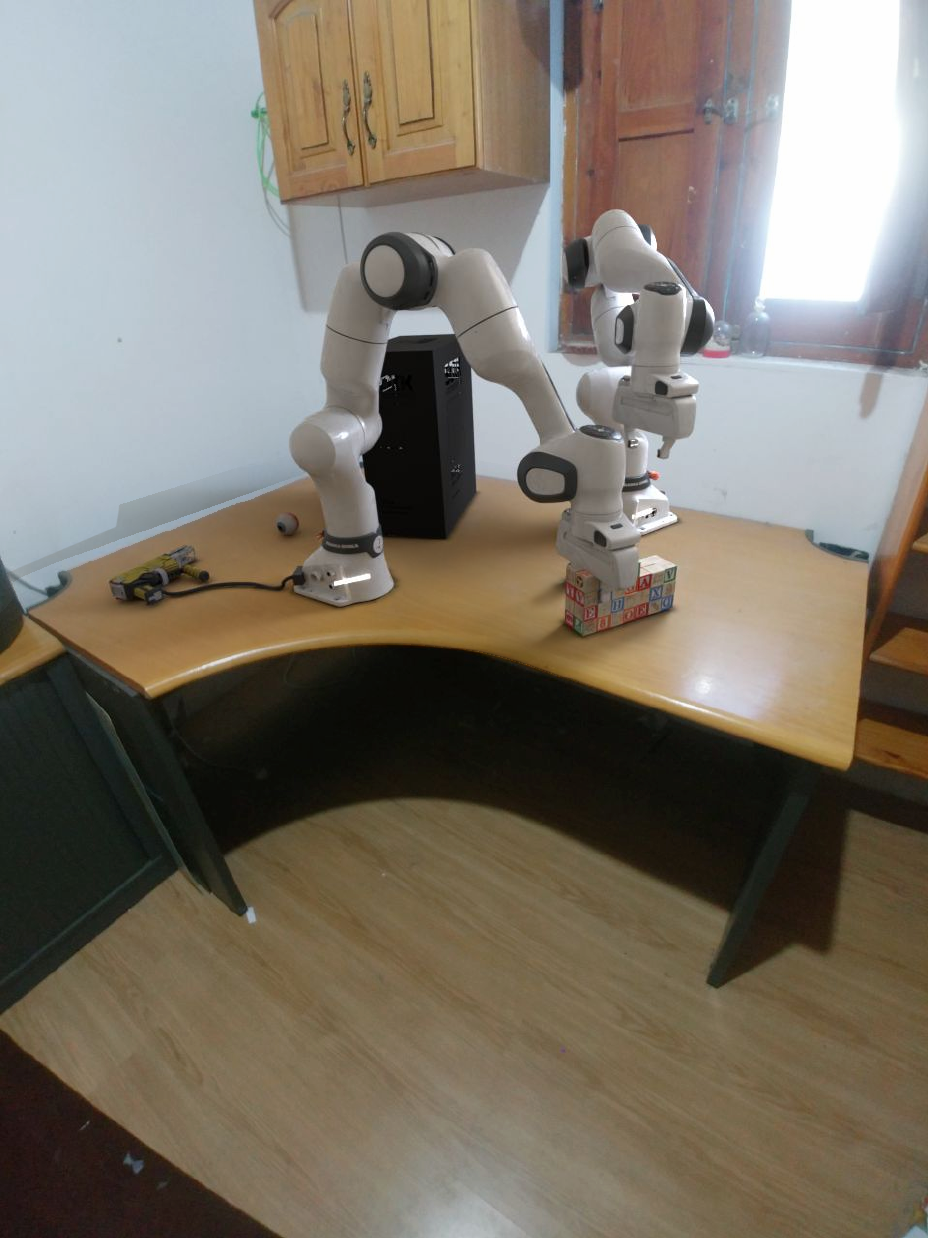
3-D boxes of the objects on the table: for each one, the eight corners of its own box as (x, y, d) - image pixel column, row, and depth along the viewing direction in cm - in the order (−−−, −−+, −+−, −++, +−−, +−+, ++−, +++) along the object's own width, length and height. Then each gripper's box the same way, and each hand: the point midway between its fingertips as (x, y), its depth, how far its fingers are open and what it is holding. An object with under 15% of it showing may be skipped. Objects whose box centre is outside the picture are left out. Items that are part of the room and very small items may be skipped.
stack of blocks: (651, 595, 124) (657, 540, 118) (672, 608, 119) (680, 551, 113) (563, 622, 117) (565, 564, 111) (582, 636, 112) (585, 577, 106)
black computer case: (446, 538, 156) (432, 350, 134) (372, 535, 161) (348, 352, 138) (476, 491, 188) (469, 333, 165) (414, 490, 192) (399, 335, 170)
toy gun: (232, 553, 147) (182, 542, 151) (158, 593, 127) (102, 580, 131) (234, 570, 150) (185, 559, 154) (162, 613, 130) (107, 599, 134)
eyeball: (273, 537, 164) (268, 516, 161) (287, 528, 169) (282, 508, 166) (291, 539, 161) (286, 518, 158) (305, 530, 166) (301, 510, 163)
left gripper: (548, 508, 113) (547, 575, 120) (616, 545, 96) (610, 619, 103) (577, 502, 115) (574, 567, 122) (648, 536, 99) (640, 610, 105)
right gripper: (607, 375, 122) (602, 444, 128) (678, 388, 105) (668, 467, 112) (632, 372, 124) (626, 440, 131) (706, 384, 107) (695, 461, 114)
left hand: (591, 592), depth 112 cm, fingers closed on stack of blocks, 6 cm apart
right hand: (646, 452), depth 121 cm, fingers open, 8 cm apart
